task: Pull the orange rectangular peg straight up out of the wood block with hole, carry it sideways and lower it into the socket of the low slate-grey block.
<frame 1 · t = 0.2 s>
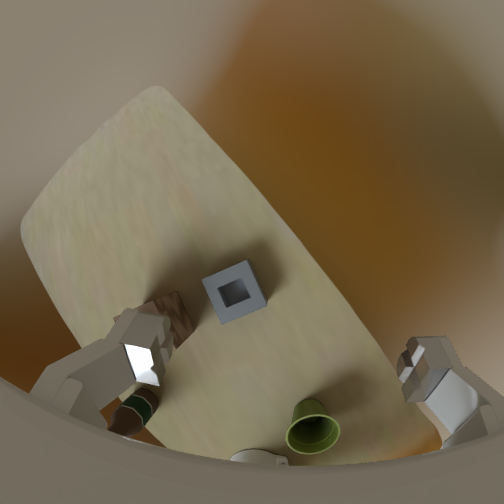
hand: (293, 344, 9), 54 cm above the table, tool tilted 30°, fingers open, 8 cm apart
wood block with hole: (167, 318, 64), on the table
plant pot: (307, 410, 62), on the table
low socket: (237, 289, 63), on the table
beer bottle: (146, 399, 65), on the table
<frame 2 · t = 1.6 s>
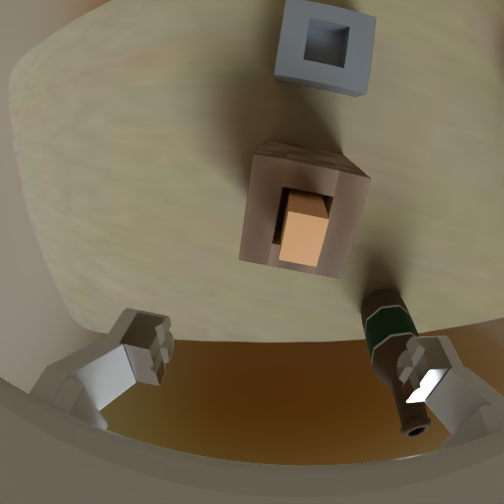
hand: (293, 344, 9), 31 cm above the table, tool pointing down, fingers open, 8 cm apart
wood block with hole: (299, 183, 37), on the table
low socket: (321, 52, 29), on the table
peg: (301, 206, 28), point 10 cm above the table, touching wood block with hole
beer bottle: (380, 305, 44), on the table
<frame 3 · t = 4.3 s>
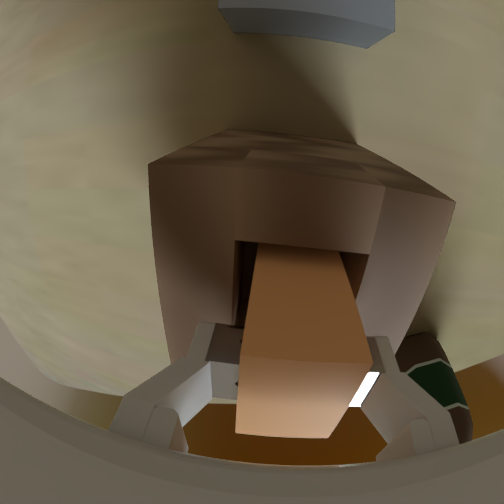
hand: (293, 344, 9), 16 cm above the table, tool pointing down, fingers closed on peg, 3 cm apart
wood block with hole: (286, 197, 23), on the table
peg: (290, 259, 14), point 10 cm above the table, touching gripper, wood block with hole
beer bottle: (410, 352, 30), on the table
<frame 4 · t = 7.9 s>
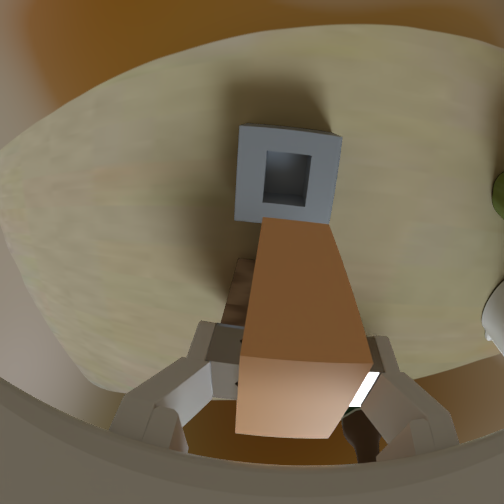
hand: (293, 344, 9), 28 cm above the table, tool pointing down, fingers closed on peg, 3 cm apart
wood block with hole: (271, 292, 42), on the table
low socket: (285, 167, 33), on the table
peg: (290, 259, 14), point 22 cm above the table, touching gripper
beer bottle: (354, 370, 49), on the table
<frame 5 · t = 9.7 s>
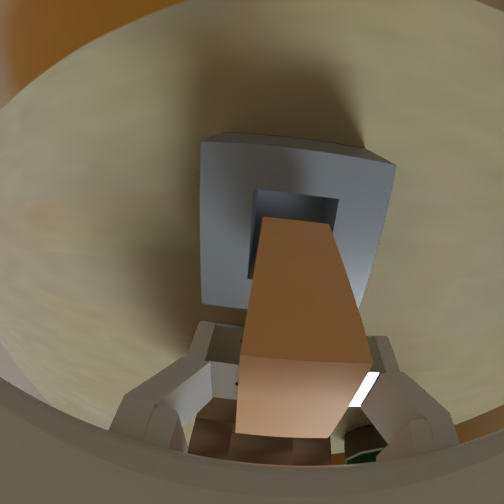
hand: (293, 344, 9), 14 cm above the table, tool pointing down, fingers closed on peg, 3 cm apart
wood block with hole: (265, 367, 29), on the table
low socket: (288, 205, 21), on the table
peg: (290, 259, 14), point 8 cm above the table, touching gripper
beer bottle: (365, 433, 37), on the table
when the fingers open (9 cm above the table, at t = 11.4 s): peg stays where it is, resting on low socket.
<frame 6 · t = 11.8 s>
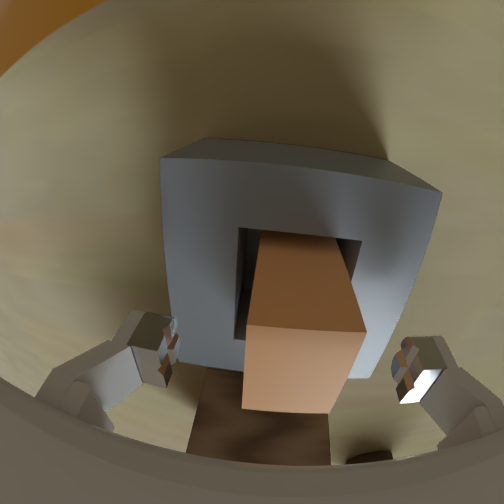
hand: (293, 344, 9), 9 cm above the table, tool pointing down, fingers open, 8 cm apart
wood block with hole: (261, 405, 25), on the table
low socket: (288, 233, 16), on the table
peg: (291, 249, 15), point 2 cm above the table, touching low socket
beer bottle: (368, 458, 32), on the table
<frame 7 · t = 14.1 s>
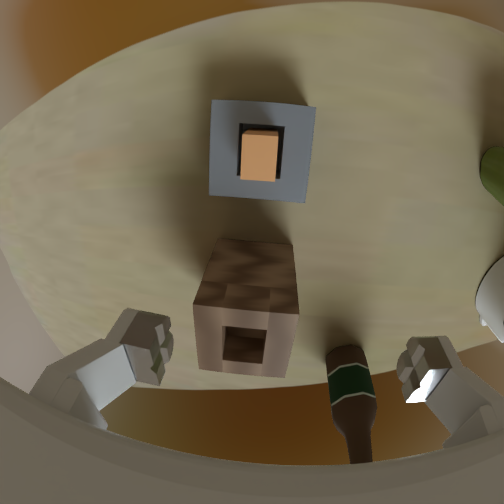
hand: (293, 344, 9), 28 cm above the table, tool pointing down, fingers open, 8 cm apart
wood block with hole: (252, 273, 41), on the table
plant pot: (493, 169, 30), on the table
low socket: (262, 143, 32), on the table
peg: (262, 145, 31), point 2 cm above the table, touching low socket
beer bottle: (344, 356, 49), on the table
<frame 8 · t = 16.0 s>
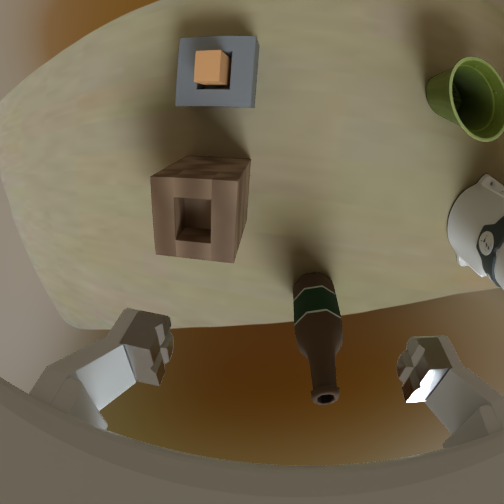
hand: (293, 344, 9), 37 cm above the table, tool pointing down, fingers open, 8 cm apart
wood block with hole: (217, 187, 45), on the table
plant pot: (442, 97, 33), on the table
low socket: (222, 75, 36), on the table
peg: (220, 73, 35), point 2 cm above the table, touching low socket
beer bottle: (313, 288, 52), on the table
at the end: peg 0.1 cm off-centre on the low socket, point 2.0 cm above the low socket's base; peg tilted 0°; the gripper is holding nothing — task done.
